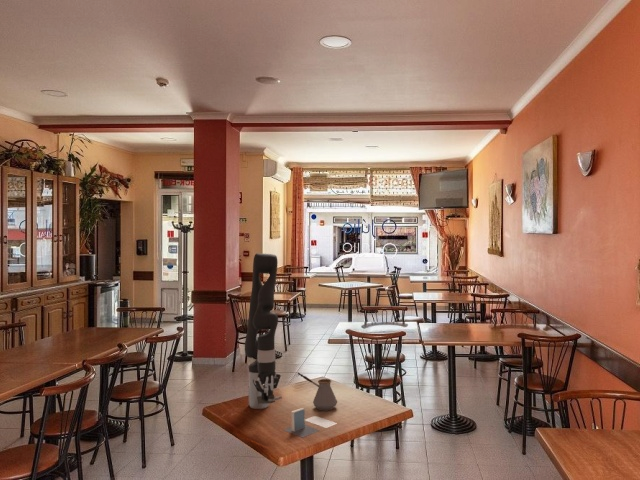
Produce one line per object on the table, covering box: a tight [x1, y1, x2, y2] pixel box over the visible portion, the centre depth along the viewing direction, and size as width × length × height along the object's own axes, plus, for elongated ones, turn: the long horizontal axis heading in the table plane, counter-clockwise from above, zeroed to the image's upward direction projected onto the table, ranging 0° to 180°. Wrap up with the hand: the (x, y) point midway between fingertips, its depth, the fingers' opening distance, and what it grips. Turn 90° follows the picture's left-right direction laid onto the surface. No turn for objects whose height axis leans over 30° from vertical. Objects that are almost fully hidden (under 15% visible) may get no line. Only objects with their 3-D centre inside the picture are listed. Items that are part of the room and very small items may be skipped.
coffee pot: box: [295, 372, 338, 411], centre depth 247 cm, size 21×12×15 cm, turn 59°
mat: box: [283, 424, 321, 438], centre depth 216 cm, size 12×10×1 cm
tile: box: [290, 407, 306, 431], centre depth 217 cm, size 2×6×8 cm, turn 134°
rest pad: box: [305, 415, 338, 429], centre depth 225 cm, size 14×7×1 cm, turn 44°
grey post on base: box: [257, 394, 283, 404], centre depth 218 cm, size 13×4×3 cm, turn 43°
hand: (267, 399), depth 219 cm, fingers closed on grey post on base, 2 cm apart
